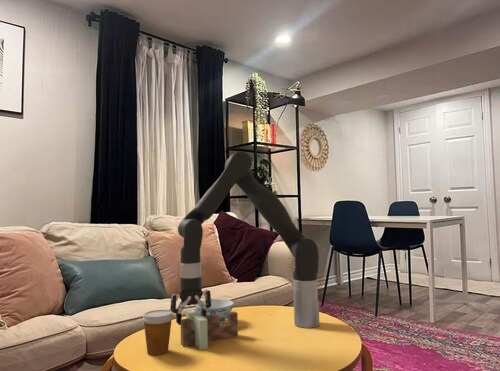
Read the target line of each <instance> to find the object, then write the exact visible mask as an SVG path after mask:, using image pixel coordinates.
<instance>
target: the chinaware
mask: <svg viewBox="0 0 500 371" xmlns="http://www.w3.org/2000/svg"><path fill="white" fill-rule="evenodd" d="M201 301H202V302H203V303H204V305H205V304H206V302H205V299H204V300H201ZM233 308H234V302H233V301H232V300H230V299H222V298H219V299H218V298H215V299H214V298H213V299H212V298H211V307H209V308H207V309H206V316H207V315H214V314H217V315H219V325H224V321H226V320H227V312H233ZM195 309H196V312H197V313H198V314H200V315H201V309H202V308H201V307H200V306H199V305H198V304H196V305H195Z"/></svg>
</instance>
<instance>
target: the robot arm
mask: <svg viewBox="0 0 500 371" xmlns="http://www.w3.org/2000/svg"><path fill="white" fill-rule="evenodd" d="M252 166H253V161H252V157H251V156H250V155H249V153H247V152H246V151H242V150H241V151H236V152H234V153H232V154H231V155H230V156H229V157H228V158H227V160H226V161H225V163H224V170H223V172H222V173H221V175H220V176H219V177H218V178H217V180H216V181H215V182H214V183H213V184H212V185H211V186H210V188H208V189H207V191H205V193H204V195H203V196H202V197H201V198H200V199H199V200H198V202H197V203H196V205H195V206H194V207H193V209H191V210H190V211H189V212H188V213H186V215H185V216H184V217H183V218H182V219H181V221H180V222H179V224H178V225H177V226H178V227H177V233H178V235H179V236H180V237H181V238H183V246H182V247H181V248H180V265H179V266H180V267H179V293H178V294H175V293H172V294H171V295H170V310H169V311H171V312H172V314H175V322H176V324H177V325H178V326H181V319H182V315H183V314H182V311H183V310H184V309H185V308H186V306H187V307H188V306H192V305H194V306H196V304H198V305H199V306H200V307H201V308H202V309H201V316H206V309H207V308H209V307H211V299H212V298H211V297H212V295H211V290H209V289H204V290H202V288H203V286H202V284H203V283H202V282H203V280H202V275H203V274H202V264H201V247H202V242H203V236H204V230H203V223H204V222H206V221H208V220H209V219H211V217H212V216H213V215H214V213H215V212H216V211H217V210H218V208H219V207H220V205H221V204H222V203H223V201H224V199H226V196H228V194H229V193H230V191H231V190H232V189H233V188H234V186H235V185H237V186H238V187H239V188H240V189H241V191H242V192H244V194H245V195H246V197H247V198H248V200H249V201H250V202H251V203H252V205H253V206H254V207H255V209H256V210H257V211H258V213H260V215H261V216H262V218H263V219H264V220H265V221H266V222H267V223H268V225H269V227H271V228H272V229H273V231H275V232H276V233H277V234H278V235H279V236H280V238H281V239H282V241H283V242H284V244H285V245H286V247H287V248H288V250H289V252H290V253H291V255H292V257H293V258H294V271H293V273H292V280H293V285H292V286H293V313H294V314H293V317H294V318H293V320H294V326H297V327H298V328H305V329H307V328H308V329H309V328H316V327H320V301H319V298H318V297H319V295H318V292H319V291H318V274H319V249H318V248H319V247H318V245H317V243H316V242H315V241H314V239H311V238H308V237H306V236H305V235H304V234H303V233H302V232H301V231H300V230H299V228H297V227H296V225H295V224H294V222H293V220H292V218H291V216H290V214H289V212H288V210H287V209H286V207H285V205H284V204H283V202H282V201H281V200H280V199H279V198H278V196H277V195H276V194H275V193H274V192H273V191H272V190H270V189H269V188H267V187H266V186H265V185H263V184H262V183H260V182H259V181H258V180H257V179H256V178H255V177H254V175H253V174H252V173H251V171H250V170H251V168H252ZM202 297H204V300H205V302H206V304H205V305H204V303H203V302H202V301H203V300H202V299H201V298H202ZM179 299H180V302H179V304H178V306H177V302H178V301H179Z"/></svg>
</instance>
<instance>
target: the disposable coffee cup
mask: <svg viewBox="0 0 500 371" xmlns="http://www.w3.org/2000/svg"><path fill="white" fill-rule="evenodd" d="M173 318H174V315H173V312H171V311H170V310H169V309H154V310H153V309H152V310H149V311H147V312H144V313H143V317H142V322H143V324H144V325H143V326H144V334H145V343H146V344H145V345H146V351H147V352H146V353H147V354H148V356H151V357H155V356H156V357H157V356H162V355H163V356H164V355H165V354H167V353H168V352H169V347H170V346H169V344H170V338H171V336H170V335H171V327H172V320H173Z"/></svg>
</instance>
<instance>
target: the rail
mask: <svg viewBox="0 0 500 371" xmlns="http://www.w3.org/2000/svg"><path fill="white" fill-rule="evenodd" d="M203 317H204V318H206V319H207V343H209V342H214V341H218V340H219V341H220V340H226V339H231V338H235V337H238V336H239V333H238V331H239V329H238V328H239V327H238V322H239V320H238V312H236V311H235V310H234V311H231V312H227V318H226V324H225V323H223V324H221V325H219V315H217V314H214V315H207V316H203ZM180 345H181V346H182V347H189V346H193V345H195V331H194V330H192V320H191V319H190V318H188V319H186V318H183V319H181V325H180Z"/></svg>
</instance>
